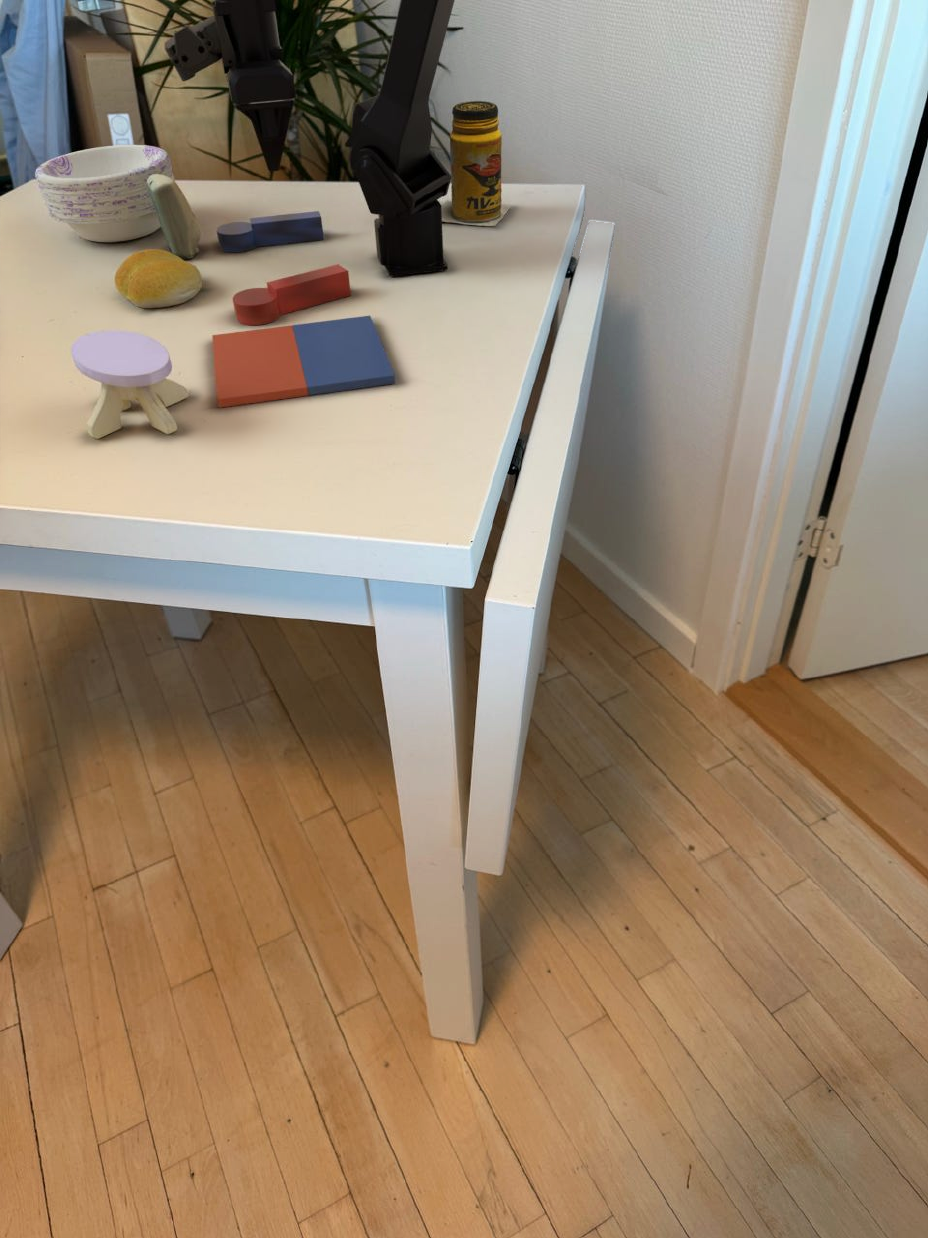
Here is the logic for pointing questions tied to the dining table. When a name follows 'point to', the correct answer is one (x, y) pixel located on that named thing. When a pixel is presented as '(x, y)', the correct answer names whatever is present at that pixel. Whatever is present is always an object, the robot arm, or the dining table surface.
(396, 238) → the robot arm
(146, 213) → the paper bowls
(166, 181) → the green soap bar
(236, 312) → the red spoon
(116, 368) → the toy table
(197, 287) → the bread roll
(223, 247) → the blue spoon
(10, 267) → the dining table surface
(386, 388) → the dining table surface
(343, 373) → the sorting board
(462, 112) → the condiment
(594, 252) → the dining table surface
